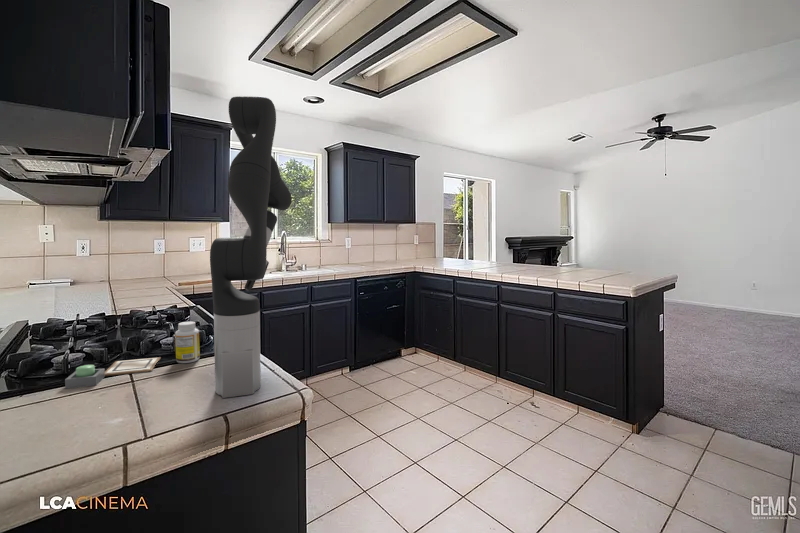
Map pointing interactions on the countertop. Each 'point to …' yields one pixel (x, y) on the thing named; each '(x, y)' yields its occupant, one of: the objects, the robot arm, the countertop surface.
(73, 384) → the button housing
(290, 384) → the countertop surface
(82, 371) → the button
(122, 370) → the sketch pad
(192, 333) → the supplement bottle
